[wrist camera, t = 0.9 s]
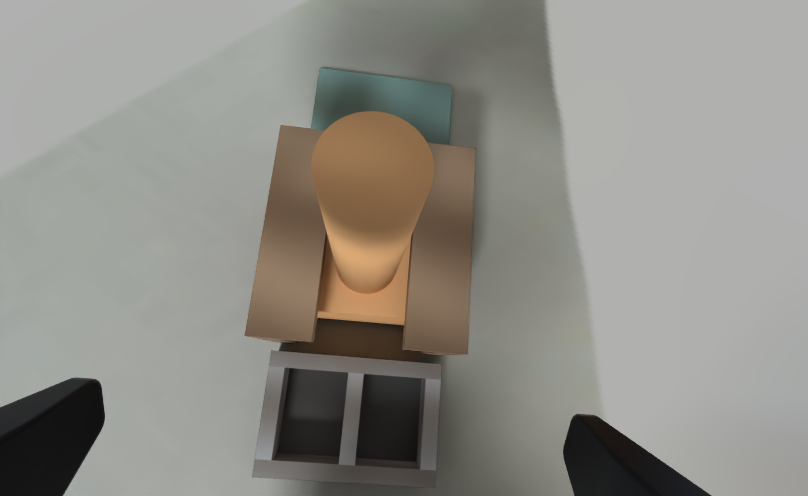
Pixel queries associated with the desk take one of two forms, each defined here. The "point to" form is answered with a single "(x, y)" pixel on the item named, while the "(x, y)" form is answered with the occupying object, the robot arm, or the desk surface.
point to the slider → (369, 213)
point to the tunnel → (300, 293)
